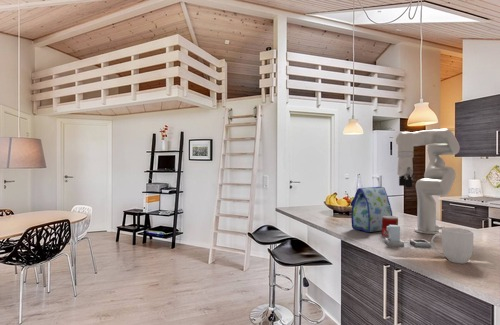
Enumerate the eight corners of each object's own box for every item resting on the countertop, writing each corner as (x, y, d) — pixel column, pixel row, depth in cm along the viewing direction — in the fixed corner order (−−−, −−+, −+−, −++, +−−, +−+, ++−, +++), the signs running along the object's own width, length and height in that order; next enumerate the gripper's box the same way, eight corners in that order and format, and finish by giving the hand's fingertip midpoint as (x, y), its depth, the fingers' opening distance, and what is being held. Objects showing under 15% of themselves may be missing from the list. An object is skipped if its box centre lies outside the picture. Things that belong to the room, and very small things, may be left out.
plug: (397, 243, 149) (397, 225, 149) (399, 245, 145) (399, 226, 145) (386, 242, 150) (386, 224, 150) (388, 244, 146) (388, 226, 146)
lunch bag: (371, 224, 197) (371, 185, 197) (394, 229, 183) (394, 187, 183) (347, 228, 186) (348, 186, 186) (370, 234, 172) (370, 189, 172)
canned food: (399, 238, 162) (399, 218, 162) (383, 237, 164) (384, 217, 164) (395, 235, 170) (395, 215, 170) (380, 234, 171) (380, 215, 171)
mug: (428, 259, 127) (429, 228, 127) (433, 253, 136) (433, 224, 136) (472, 267, 118) (472, 234, 118) (474, 260, 126) (474, 229, 126)
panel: (424, 243, 152) (425, 237, 152) (437, 251, 138) (437, 245, 138) (379, 241, 155) (379, 236, 155) (387, 249, 141) (387, 243, 141)
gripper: (393, 155, 172) (393, 185, 172) (403, 154, 155) (403, 187, 155) (407, 155, 171) (406, 185, 171) (419, 154, 154) (419, 187, 154)
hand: (405, 186), depth 163 cm, fingers open, 9 cm apart
